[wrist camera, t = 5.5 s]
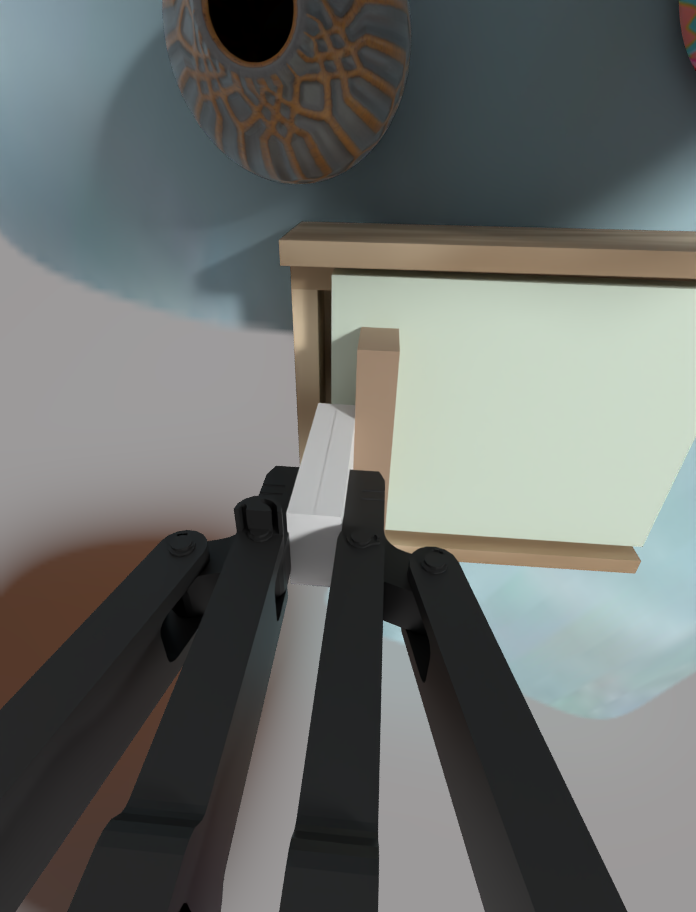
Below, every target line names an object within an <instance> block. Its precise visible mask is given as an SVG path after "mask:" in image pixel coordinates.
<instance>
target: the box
mask: <svg viewBox="0 0 696 912" xmlns="http://www.w3.org/2000/svg"><path fill="white" fill-rule="evenodd" d="M279 254H280V266H290V271H291V292H292V312H293V333H294V353H295V373H296V392H297V393H296V394H297V415H298V434H299V455H300V464H301V461H302V457H303V454H304V451H305V447H306V444H307V440H308V437H309V433H310V430H311V427H312V423H313V420H314V416H315V413H316V409H317V406H318V403H326V404H331V344H332V273H333V271H334V269H335V268H354V269H380V270H406V271H432V272H458V273H484V274H510V275H537V276H563V277H589V278H615V279H641V280H667V281H694V282H696V232H693V231H654V230H615V229H576V228H537V227H499V226H460V225H421V224H382V223H343V222H304V221H302V222H300V223H299V224H298V225H297V226H296V227H294V228H293V229H292V230H291V231H289V232H288V233H287V234H286V235H284V236H283V237H282V238H281V239H279ZM385 536H386V538H387V540H388V541H389V542H390V543H391V544H392V545H393V546H395V547H396V548H398V549H400V550H402V551H405V552H408V553H411V554H412V553H413V552H414V551H416V550H417V549H419V548H422V547H426V546H430V547H439V548H442V549H445V550H447V551H448V552H450V553H451V554H453V555H454V557H455V558H456V559H457V560H458V562H469V563H485V564H500V565H515V566H530V567H545V568H561V569H576V570H591V571H606V572H621V573H636V571H637V569H638V566H639V564H640V562H641V560H640V559H639V557H638V555H637V554H636V552H635V550H634V549H633V547H632V546H620V545H606V544H591V543H576V542H561V541H546V540H531V539H516V538H501V537H486V536H472V535H457V534H442V533H427V532H412V531H397V530H385Z"/></svg>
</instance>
